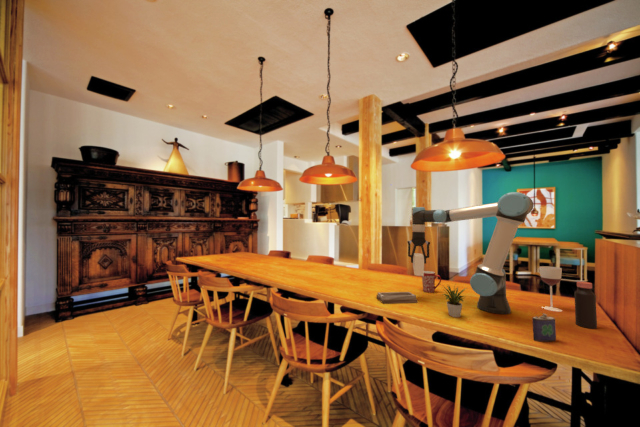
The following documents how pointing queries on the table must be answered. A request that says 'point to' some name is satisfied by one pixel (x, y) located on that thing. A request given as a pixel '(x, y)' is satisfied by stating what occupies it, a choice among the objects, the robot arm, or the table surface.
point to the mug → (429, 281)
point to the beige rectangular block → (418, 264)
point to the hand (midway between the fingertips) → (418, 268)
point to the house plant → (454, 302)
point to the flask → (544, 329)
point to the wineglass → (551, 281)
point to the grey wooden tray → (396, 297)
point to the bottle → (585, 306)
